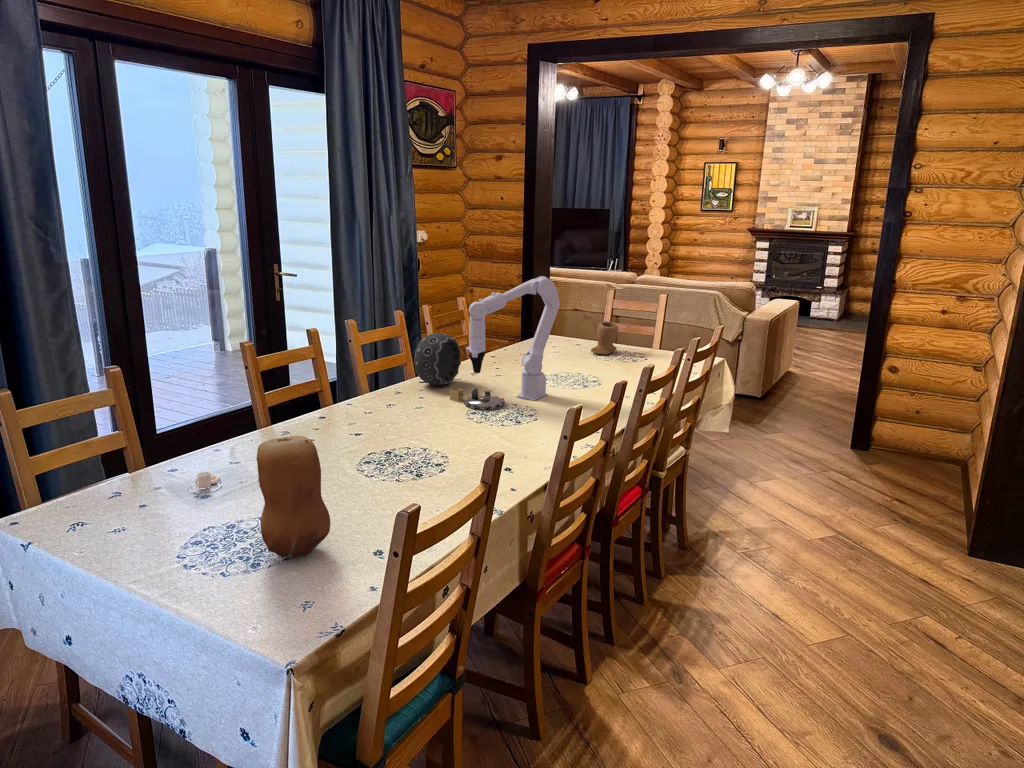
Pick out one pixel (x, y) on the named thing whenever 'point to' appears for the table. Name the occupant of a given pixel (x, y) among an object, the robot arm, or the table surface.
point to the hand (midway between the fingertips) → (477, 372)
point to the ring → (437, 359)
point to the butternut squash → (291, 496)
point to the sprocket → (483, 401)
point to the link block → (457, 394)
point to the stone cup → (606, 338)
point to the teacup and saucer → (206, 479)
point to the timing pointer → (488, 393)
